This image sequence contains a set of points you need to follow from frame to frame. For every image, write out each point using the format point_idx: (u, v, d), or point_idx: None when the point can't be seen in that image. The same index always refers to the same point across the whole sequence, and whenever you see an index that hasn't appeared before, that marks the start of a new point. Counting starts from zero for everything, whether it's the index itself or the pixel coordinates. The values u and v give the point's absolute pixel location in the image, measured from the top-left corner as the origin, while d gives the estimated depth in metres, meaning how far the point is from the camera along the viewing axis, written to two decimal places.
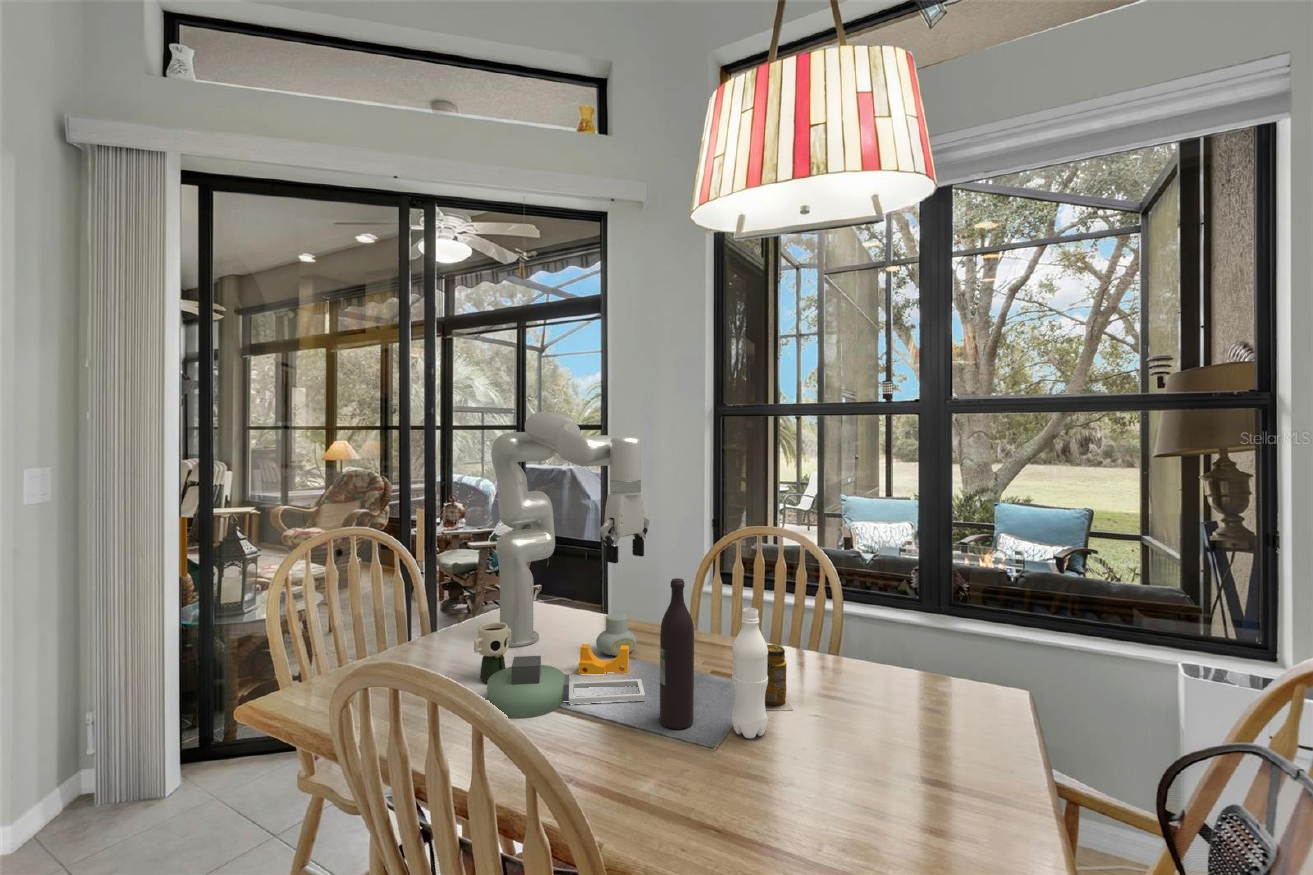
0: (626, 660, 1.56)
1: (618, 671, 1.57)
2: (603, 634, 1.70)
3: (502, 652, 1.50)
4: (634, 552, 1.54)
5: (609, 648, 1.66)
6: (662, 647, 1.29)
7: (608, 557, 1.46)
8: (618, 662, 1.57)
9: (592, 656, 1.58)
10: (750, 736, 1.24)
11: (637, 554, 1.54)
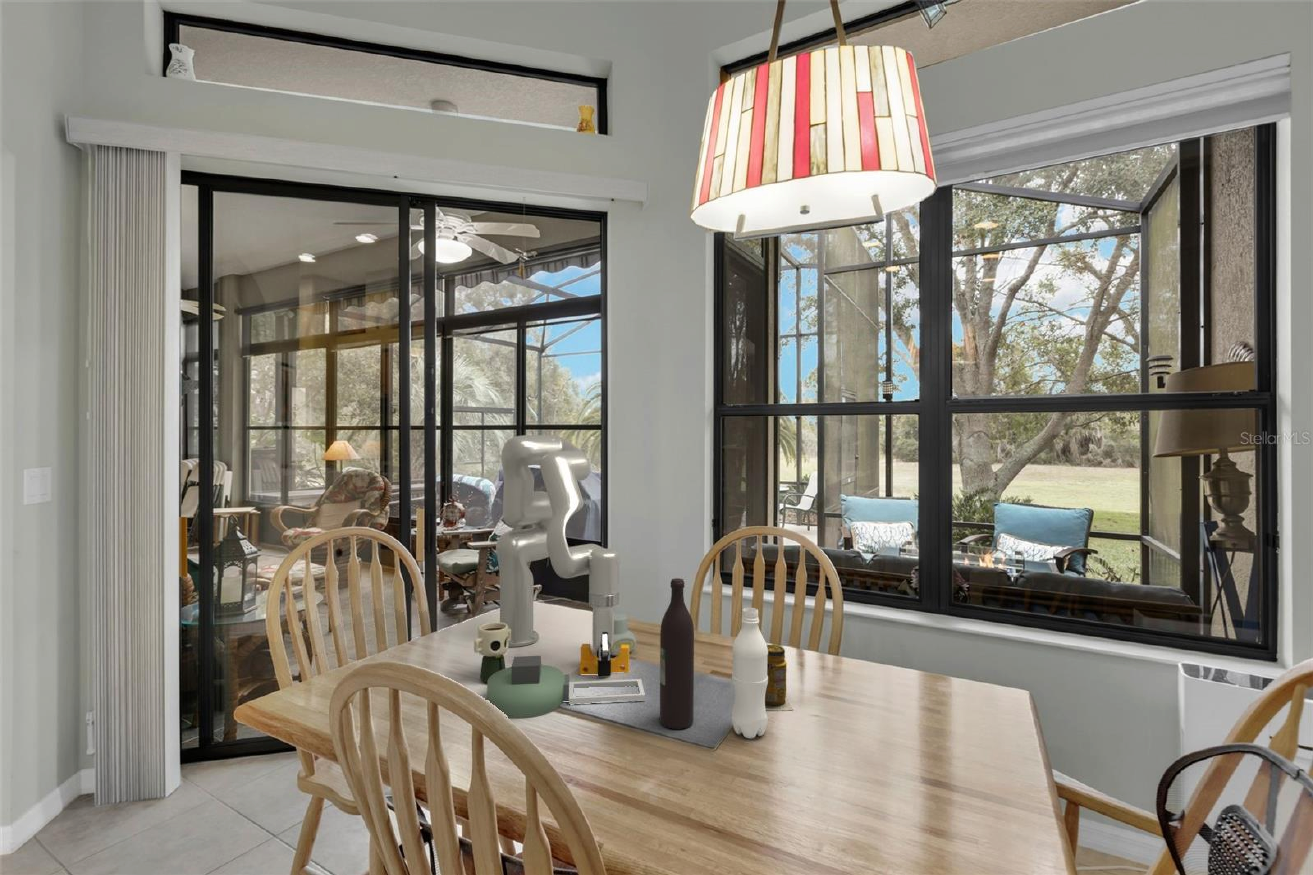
0: (627, 659, 1.57)
1: (619, 670, 1.57)
2: None
3: (502, 652, 1.50)
4: None
5: None
6: (662, 647, 1.29)
7: (603, 672, 1.53)
8: (619, 661, 1.57)
9: (592, 656, 1.58)
10: (750, 736, 1.24)
11: None
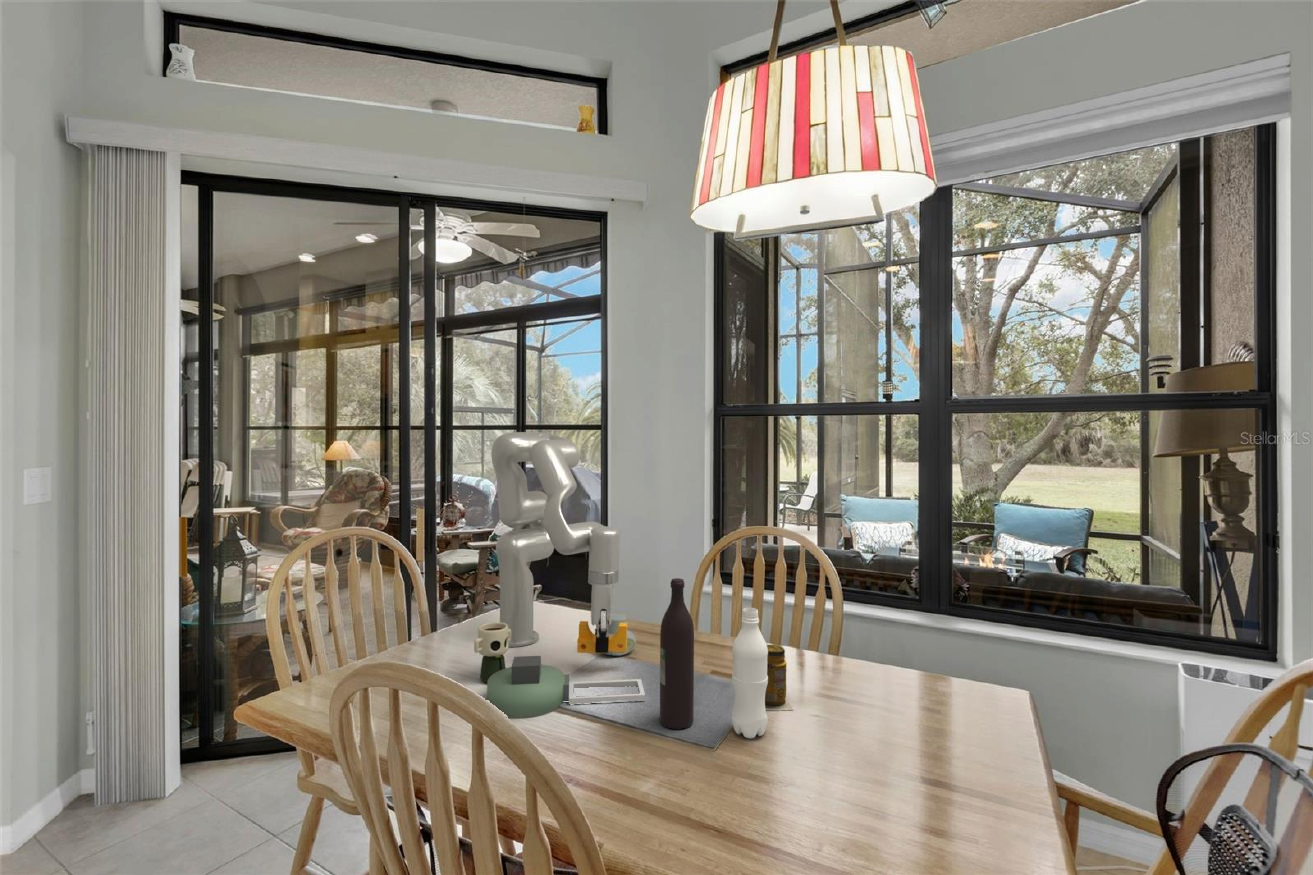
0: (625, 637, 1.57)
1: (616, 648, 1.57)
2: None
3: (502, 652, 1.50)
4: None
5: None
6: (662, 647, 1.29)
7: (600, 648, 1.54)
8: (616, 639, 1.57)
9: (590, 633, 1.58)
10: (750, 736, 1.24)
11: None
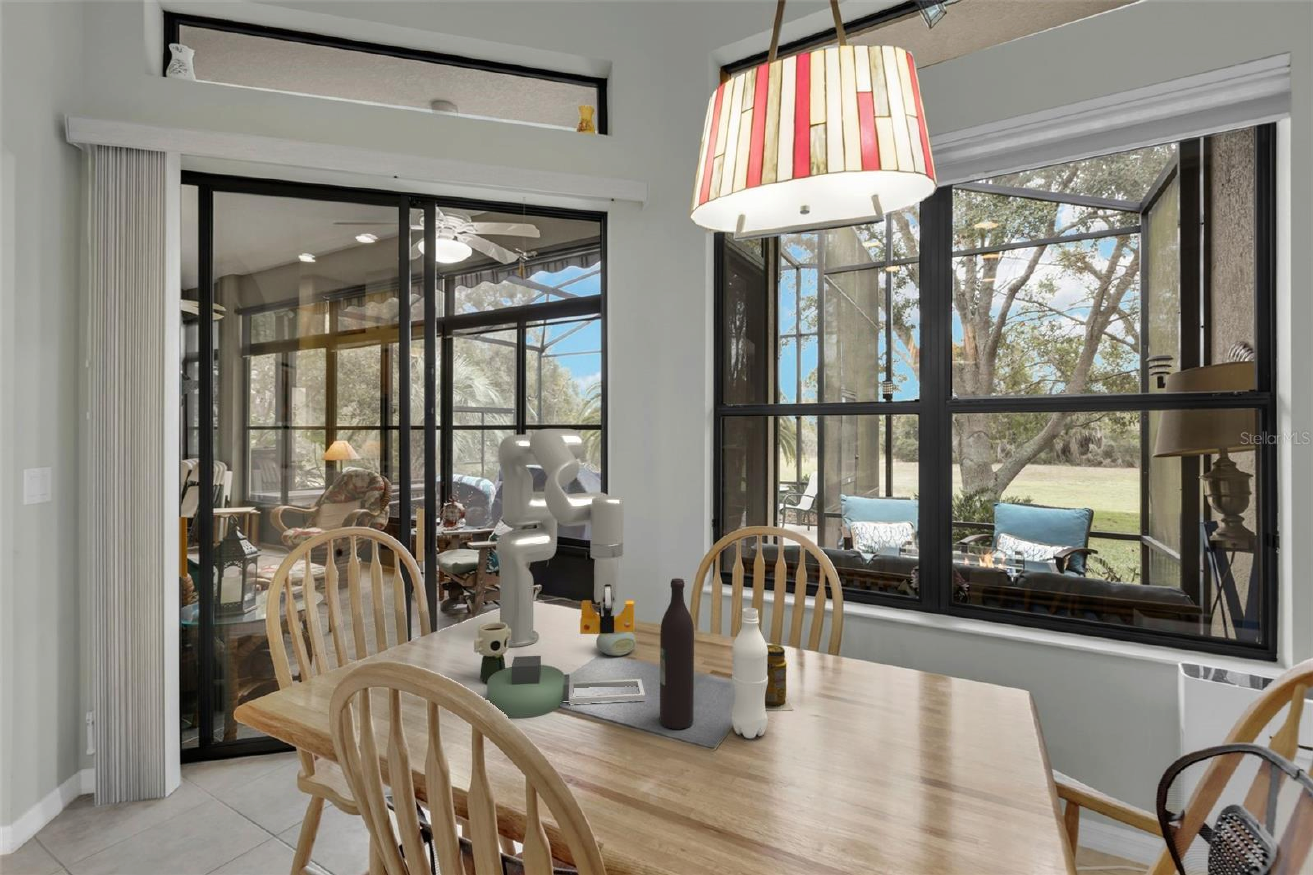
0: (632, 616, 1.43)
1: (623, 628, 1.44)
2: (603, 634, 1.70)
3: (502, 652, 1.50)
4: None
5: (609, 648, 1.66)
6: (662, 647, 1.29)
7: (605, 628, 1.40)
8: (623, 618, 1.43)
9: (594, 613, 1.45)
10: (750, 736, 1.24)
11: None
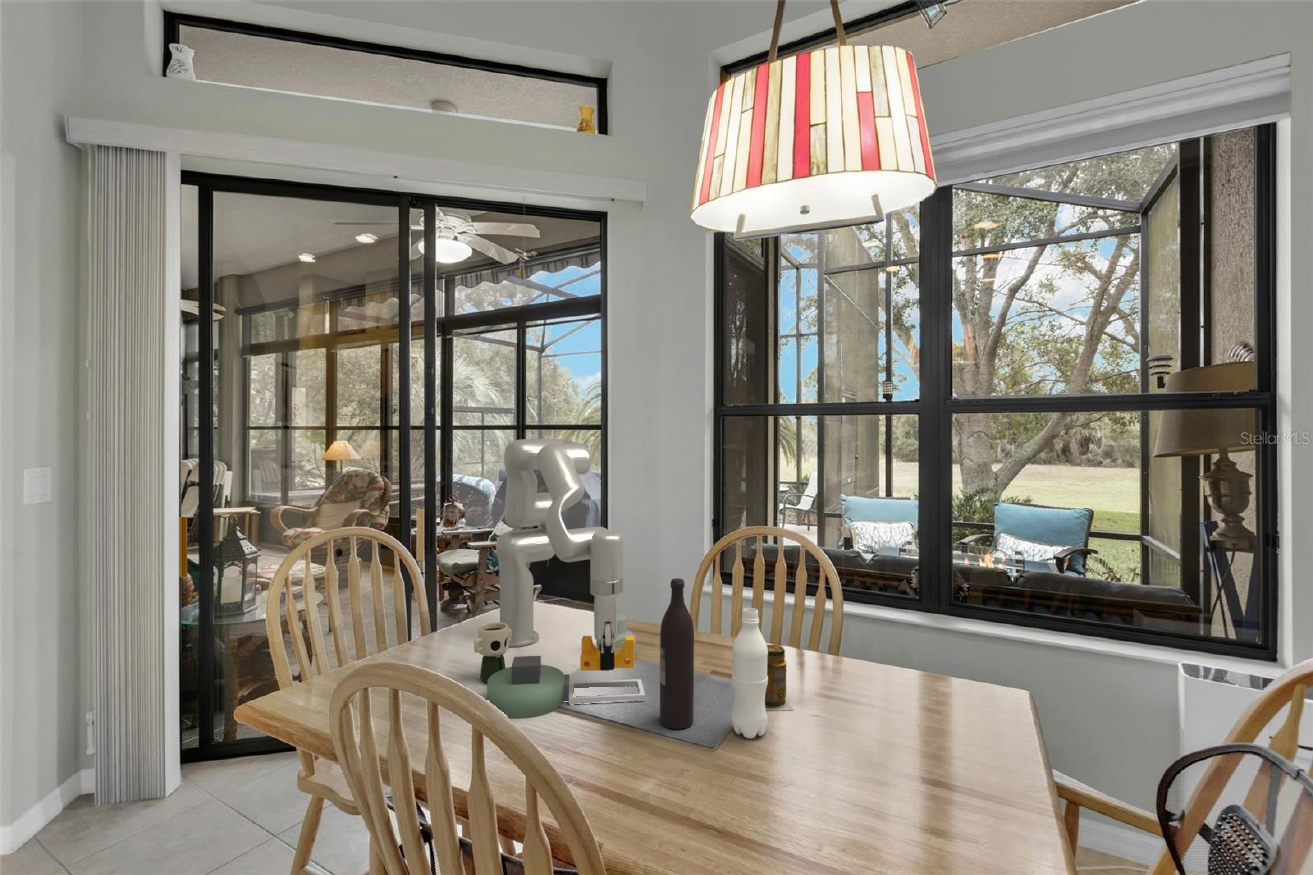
0: (632, 652, 1.43)
1: (623, 664, 1.43)
2: None
3: (502, 652, 1.50)
4: None
5: None
6: (662, 647, 1.29)
7: (605, 665, 1.40)
8: (623, 654, 1.43)
9: (594, 649, 1.45)
10: (750, 736, 1.24)
11: None
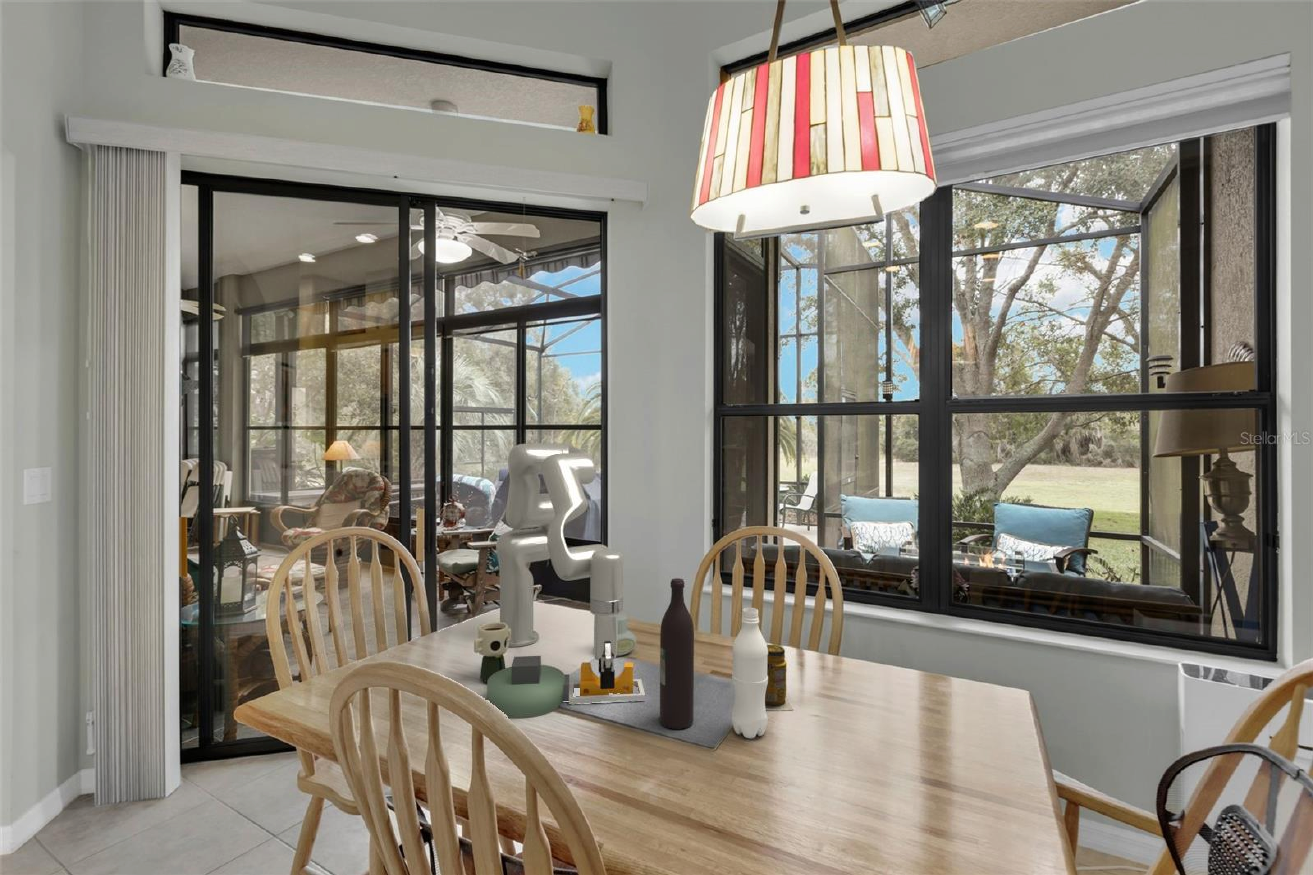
0: (631, 679, 1.44)
1: (622, 691, 1.44)
2: None
3: (502, 652, 1.50)
4: None
5: None
6: (662, 647, 1.29)
7: (605, 684, 1.39)
8: (622, 681, 1.44)
9: (593, 675, 1.45)
10: (750, 736, 1.24)
11: None
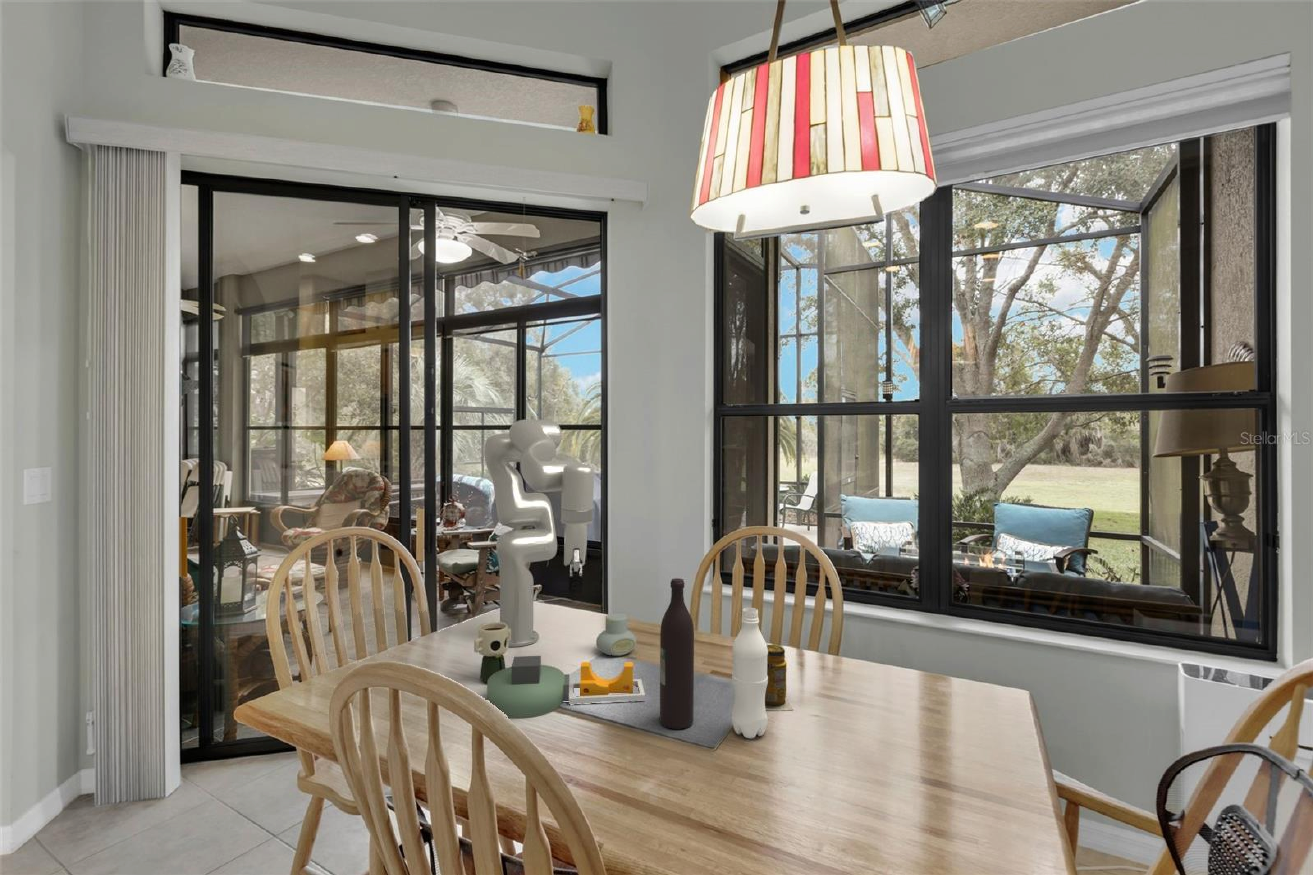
0: (631, 678, 1.44)
1: (622, 691, 1.44)
2: (603, 634, 1.70)
3: (502, 652, 1.50)
4: None
5: (609, 648, 1.66)
6: (662, 647, 1.29)
7: (573, 588, 1.45)
8: (622, 681, 1.44)
9: (593, 675, 1.45)
10: (750, 736, 1.24)
11: None
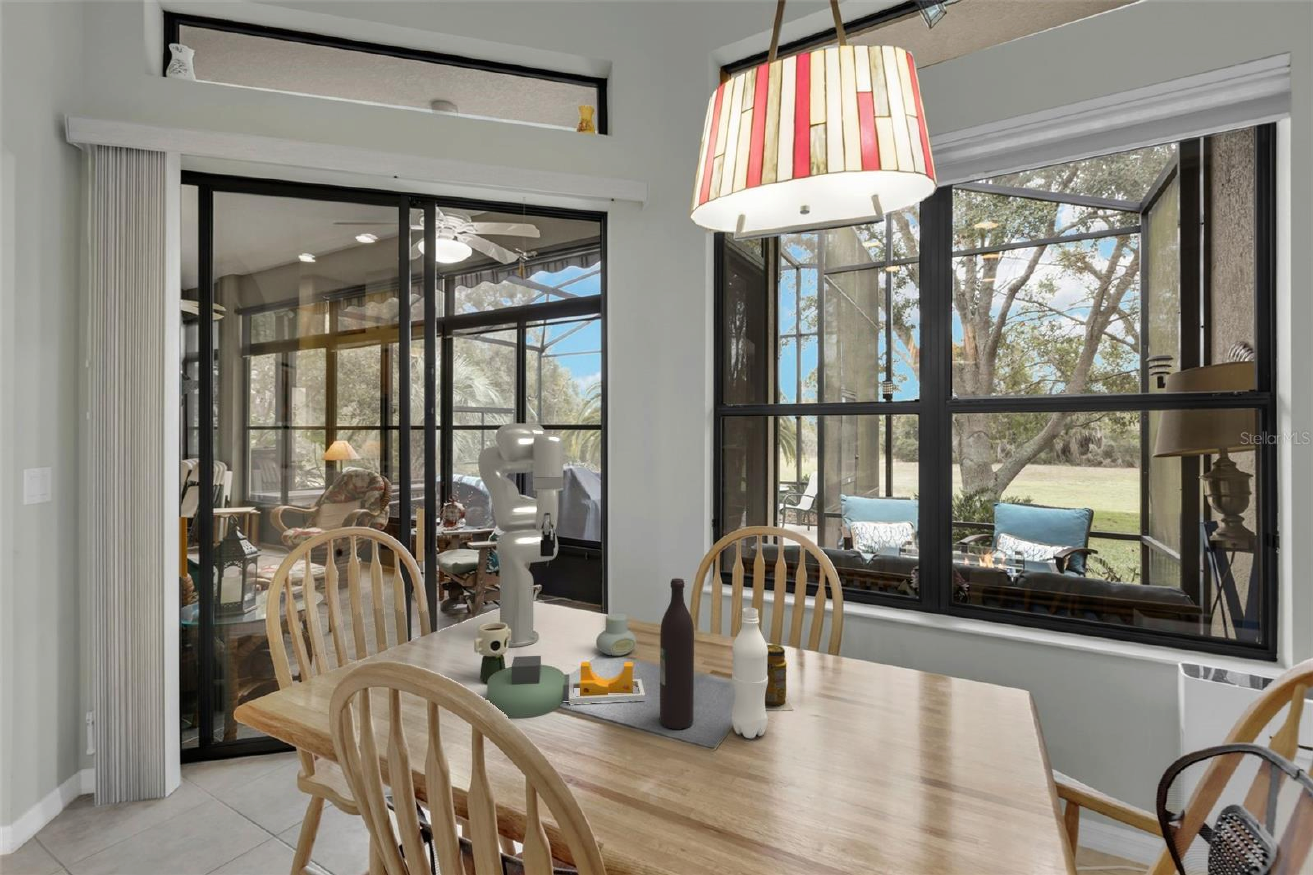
0: (631, 678, 1.44)
1: (622, 690, 1.44)
2: (603, 634, 1.70)
3: (502, 652, 1.50)
4: None
5: (609, 648, 1.66)
6: (662, 647, 1.29)
7: (545, 551, 1.51)
8: (622, 681, 1.44)
9: (593, 675, 1.45)
10: (750, 736, 1.24)
11: None
